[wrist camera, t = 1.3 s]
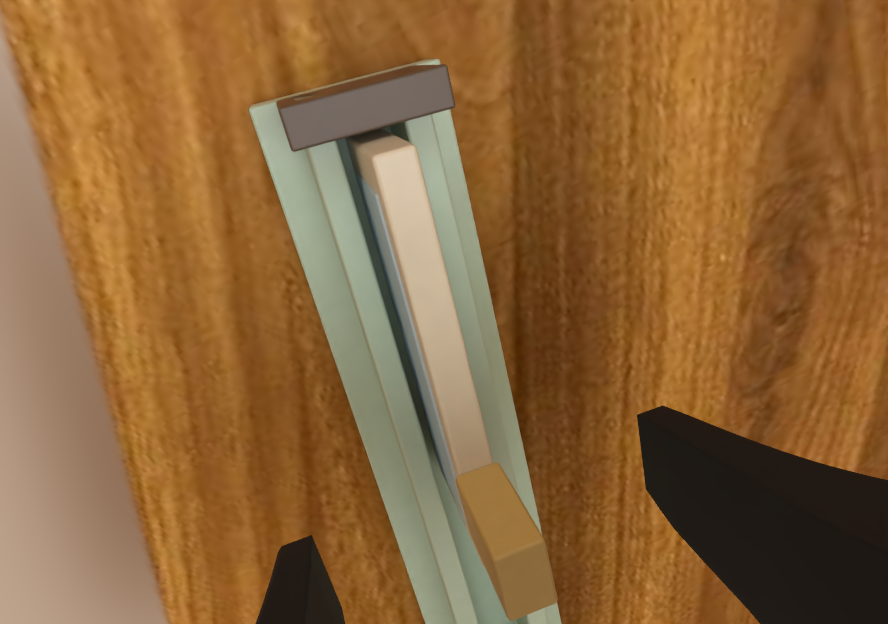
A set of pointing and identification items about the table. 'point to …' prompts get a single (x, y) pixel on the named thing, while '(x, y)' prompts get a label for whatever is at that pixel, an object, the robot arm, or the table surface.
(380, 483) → the green sliding track
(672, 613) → the table surface
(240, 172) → the table surface
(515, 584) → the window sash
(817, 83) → the table surface
